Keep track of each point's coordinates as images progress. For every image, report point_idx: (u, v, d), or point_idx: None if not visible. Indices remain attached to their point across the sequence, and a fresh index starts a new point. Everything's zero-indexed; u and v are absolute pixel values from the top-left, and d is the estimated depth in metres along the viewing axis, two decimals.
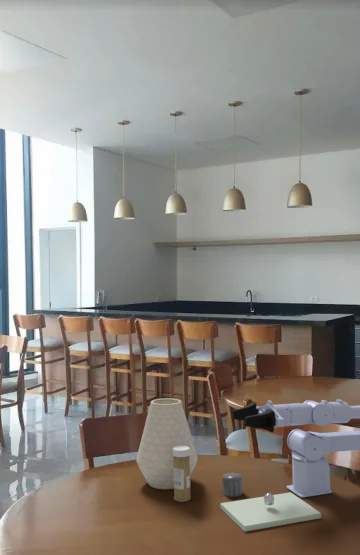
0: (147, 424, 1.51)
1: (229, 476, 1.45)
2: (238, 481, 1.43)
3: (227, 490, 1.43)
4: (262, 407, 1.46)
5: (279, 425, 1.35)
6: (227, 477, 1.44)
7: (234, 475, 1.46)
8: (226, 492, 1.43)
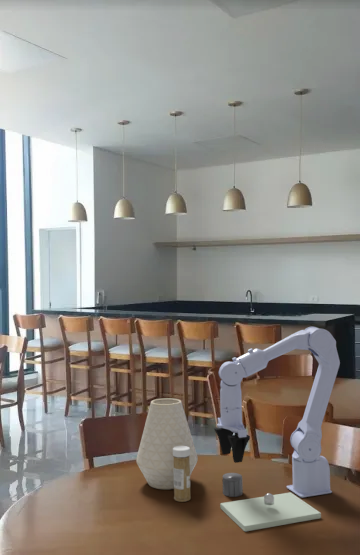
0: (147, 424, 1.51)
1: (229, 476, 1.45)
2: (238, 481, 1.43)
3: (227, 490, 1.43)
4: None
5: (245, 435, 1.39)
6: (227, 477, 1.44)
7: (234, 475, 1.46)
8: (226, 492, 1.43)
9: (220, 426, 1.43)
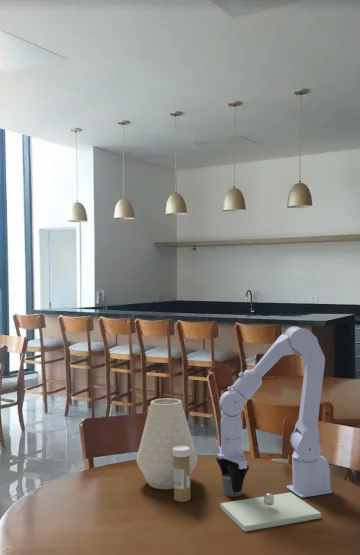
0: (147, 424, 1.51)
1: (229, 476, 1.45)
2: None
3: (227, 490, 1.43)
4: None
5: (245, 466, 1.39)
6: (227, 477, 1.44)
7: None
8: (226, 492, 1.43)
9: (221, 456, 1.43)
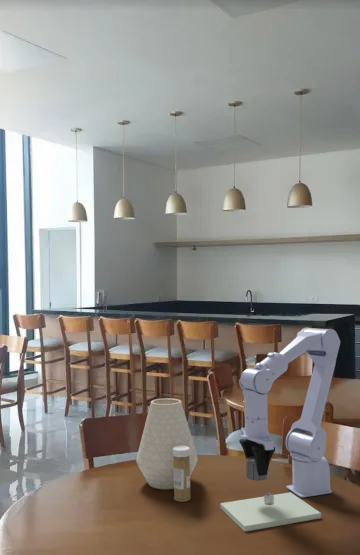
0: (147, 424, 1.51)
1: (253, 459, 1.35)
2: None
3: (251, 473, 1.34)
4: None
5: (272, 447, 1.29)
6: (251, 460, 1.35)
7: None
8: (251, 476, 1.34)
9: (245, 437, 1.34)
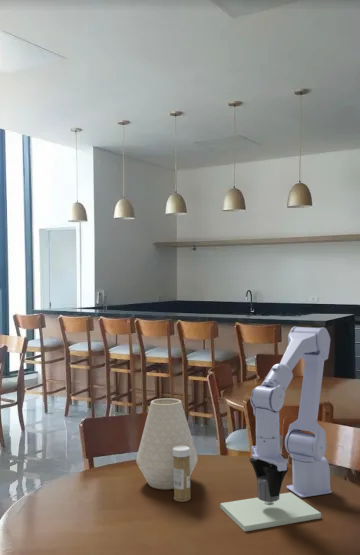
0: (147, 424, 1.51)
1: (264, 479, 1.31)
2: None
3: (263, 494, 1.30)
4: None
5: (285, 468, 1.25)
6: (263, 480, 1.31)
7: None
8: (262, 497, 1.30)
9: (256, 457, 1.30)
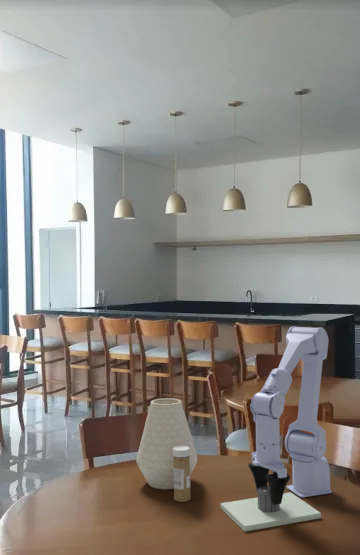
0: (147, 424, 1.51)
1: (265, 490, 1.31)
2: None
3: (263, 505, 1.30)
4: None
5: (285, 475, 1.25)
6: (263, 491, 1.31)
7: None
8: (263, 508, 1.30)
9: (256, 464, 1.30)
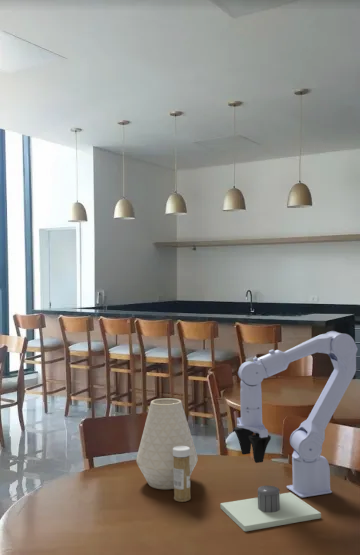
0: (147, 424, 1.51)
1: (265, 490, 1.31)
2: (275, 495, 1.30)
3: (263, 505, 1.30)
4: None
5: (266, 435, 1.38)
6: (263, 491, 1.31)
7: (270, 488, 1.32)
8: (263, 508, 1.30)
9: (240, 426, 1.43)
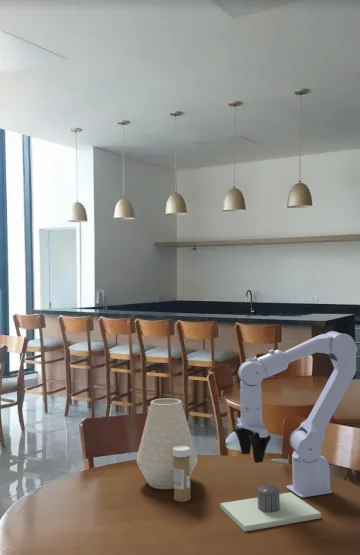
0: (147, 424, 1.51)
1: (265, 490, 1.31)
2: (275, 495, 1.30)
3: (263, 505, 1.30)
4: None
5: (266, 435, 1.38)
6: (263, 491, 1.31)
7: (270, 488, 1.32)
8: (263, 508, 1.30)
9: (240, 426, 1.43)
